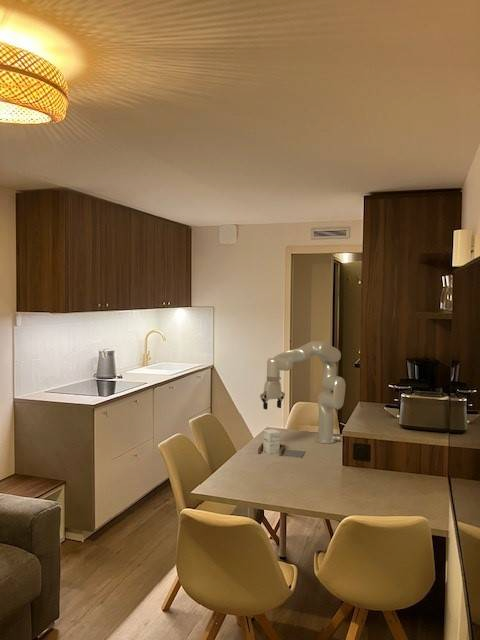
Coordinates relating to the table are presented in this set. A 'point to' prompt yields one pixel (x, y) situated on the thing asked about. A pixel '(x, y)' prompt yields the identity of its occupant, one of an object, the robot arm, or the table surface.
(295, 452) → the charcoal mat
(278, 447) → the supplement box
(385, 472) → the table surface
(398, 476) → the table surface
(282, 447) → the walnut cradle
